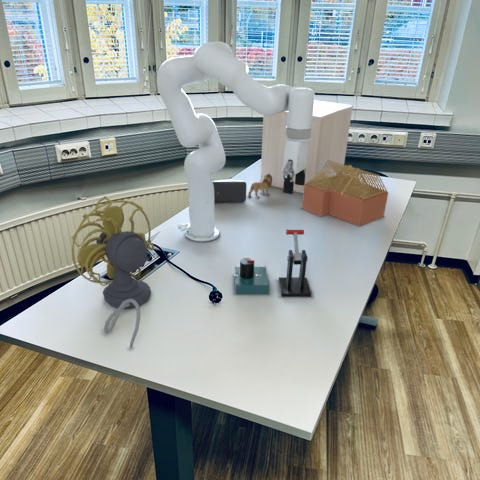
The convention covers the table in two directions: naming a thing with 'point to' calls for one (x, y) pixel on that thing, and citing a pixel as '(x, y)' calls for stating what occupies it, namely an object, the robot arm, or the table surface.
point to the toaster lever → (296, 245)
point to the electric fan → (116, 259)
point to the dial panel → (252, 282)
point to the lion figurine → (261, 185)
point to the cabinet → (320, 145)
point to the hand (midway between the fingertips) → (293, 189)
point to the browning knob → (246, 268)
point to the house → (345, 195)
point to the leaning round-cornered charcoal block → (229, 191)
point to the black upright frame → (295, 279)
